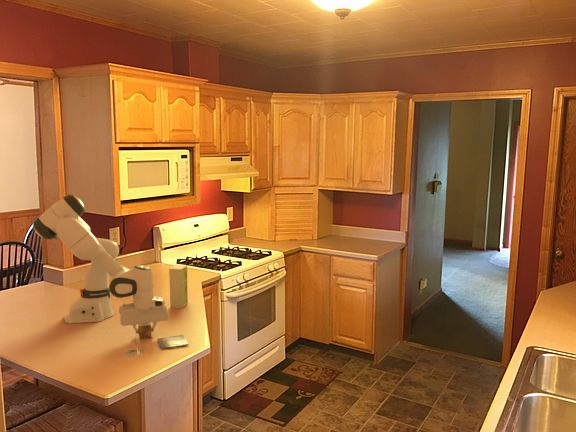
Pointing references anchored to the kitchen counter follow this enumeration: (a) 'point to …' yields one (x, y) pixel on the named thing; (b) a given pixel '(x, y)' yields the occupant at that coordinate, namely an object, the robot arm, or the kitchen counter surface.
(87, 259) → the robot arm
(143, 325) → the cube
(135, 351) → the unidentifiable
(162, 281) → the kitchen counter surface
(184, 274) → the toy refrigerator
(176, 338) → the trivet
